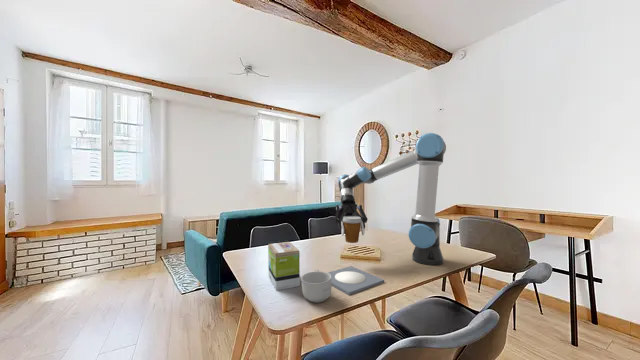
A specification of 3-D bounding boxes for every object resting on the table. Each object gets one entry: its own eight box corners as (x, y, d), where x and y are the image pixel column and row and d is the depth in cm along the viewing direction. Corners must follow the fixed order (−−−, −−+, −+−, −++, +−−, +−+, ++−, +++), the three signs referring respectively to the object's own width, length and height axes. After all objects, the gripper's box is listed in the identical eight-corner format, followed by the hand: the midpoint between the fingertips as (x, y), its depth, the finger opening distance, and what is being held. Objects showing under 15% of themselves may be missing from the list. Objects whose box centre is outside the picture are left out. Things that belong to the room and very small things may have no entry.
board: (351, 268, 117) (351, 265, 117) (384, 282, 101) (384, 279, 101) (317, 277, 106) (317, 274, 106) (348, 295, 90) (348, 291, 90)
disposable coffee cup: (362, 244, 116) (363, 219, 116) (342, 243, 117) (343, 219, 117) (360, 238, 126) (360, 215, 126) (341, 238, 126) (342, 215, 126)
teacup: (328, 307, 81) (328, 283, 81) (297, 304, 83) (297, 280, 83) (334, 289, 94) (334, 268, 94) (307, 287, 96) (307, 266, 96)
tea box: (267, 276, 107) (267, 243, 107) (289, 273, 110) (289, 241, 111) (275, 291, 93) (275, 252, 93) (300, 286, 97) (300, 249, 97)
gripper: (365, 202, 137) (373, 237, 122) (327, 202, 136) (330, 238, 120) (368, 193, 132) (377, 229, 116) (328, 193, 130) (331, 230, 115)
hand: (353, 234), depth 118 cm, fingers closed on disposable coffee cup, 9 cm apart
